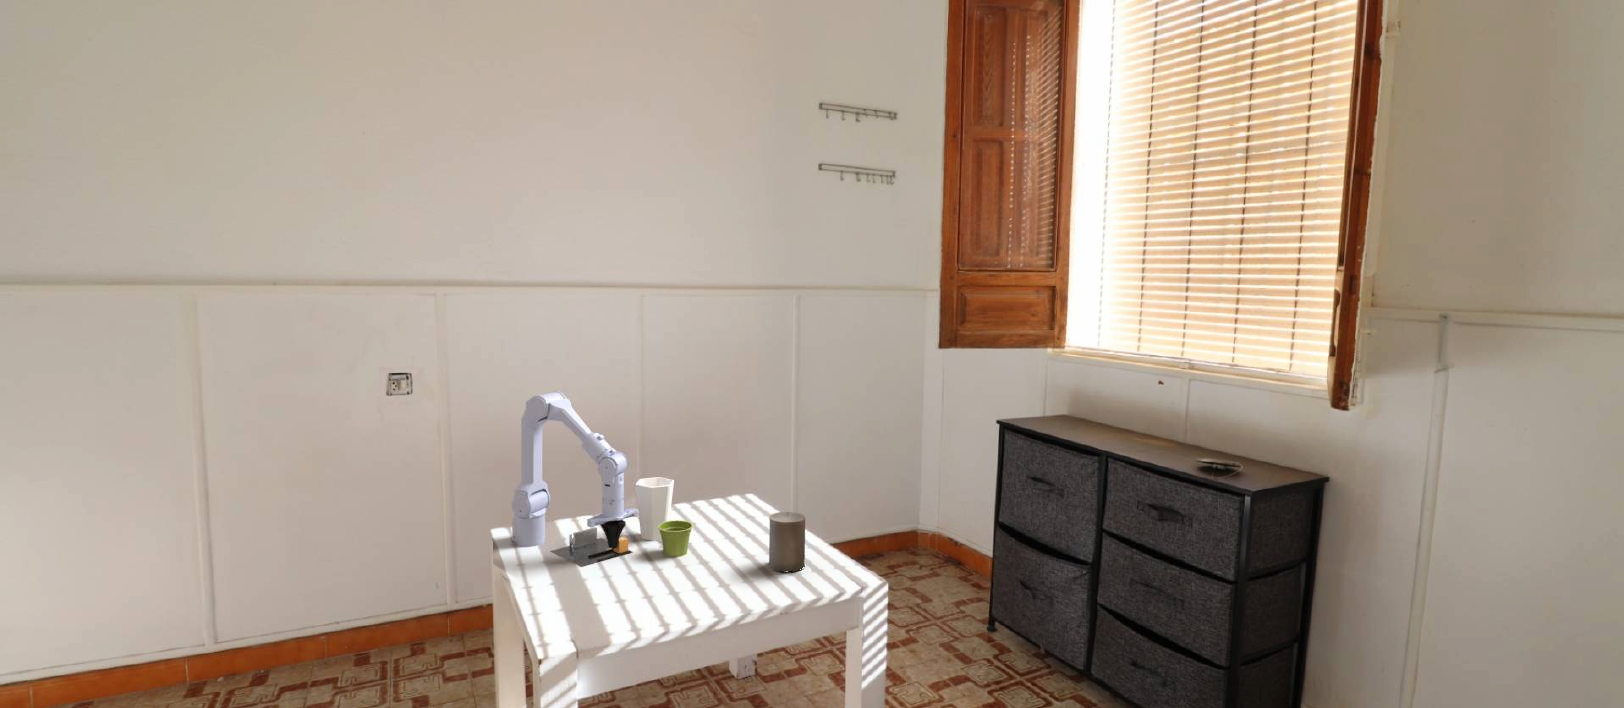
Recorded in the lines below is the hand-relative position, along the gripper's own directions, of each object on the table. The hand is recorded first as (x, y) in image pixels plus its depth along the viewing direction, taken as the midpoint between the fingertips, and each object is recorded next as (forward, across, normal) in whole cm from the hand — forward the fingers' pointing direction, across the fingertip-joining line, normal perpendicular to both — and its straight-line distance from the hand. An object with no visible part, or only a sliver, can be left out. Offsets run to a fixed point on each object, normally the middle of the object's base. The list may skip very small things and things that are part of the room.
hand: (612, 547), depth 214 cm
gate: (+2, -2, +11) cm, 11 cm away
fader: (+2, +3, 0) cm, 3 cm away
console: (+3, -3, +6) cm, 7 cm away
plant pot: (+3, +13, -10) cm, 17 cm away
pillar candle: (+3, +30, -36) cm, 47 cm away
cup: (+3, +17, +4) cm, 18 cm away
